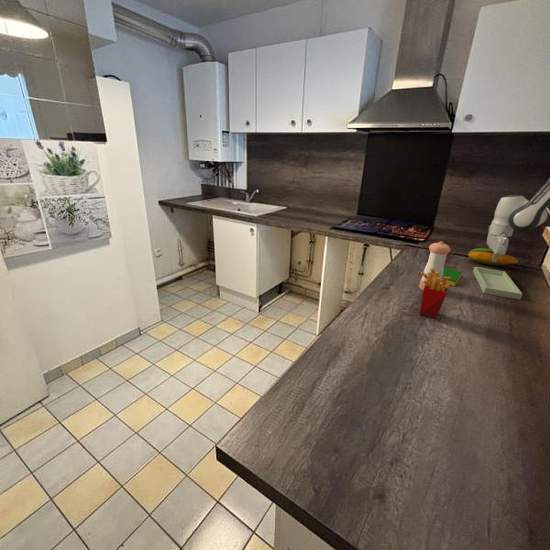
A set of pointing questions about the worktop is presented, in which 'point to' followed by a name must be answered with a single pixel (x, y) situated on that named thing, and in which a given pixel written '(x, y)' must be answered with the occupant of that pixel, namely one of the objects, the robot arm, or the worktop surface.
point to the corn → (490, 257)
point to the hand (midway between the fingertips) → (491, 258)
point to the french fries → (433, 294)
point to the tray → (496, 283)
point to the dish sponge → (454, 276)
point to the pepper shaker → (435, 260)
